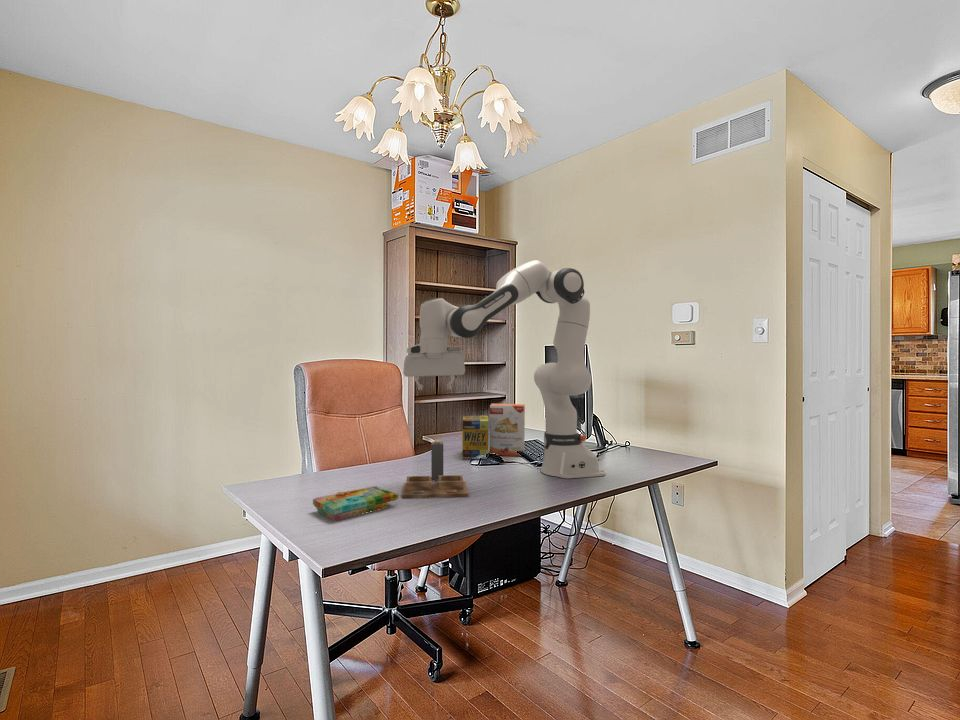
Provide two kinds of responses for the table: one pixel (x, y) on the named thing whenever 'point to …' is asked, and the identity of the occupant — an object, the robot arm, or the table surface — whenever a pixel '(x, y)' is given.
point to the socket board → (434, 487)
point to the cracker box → (507, 429)
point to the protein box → (474, 436)
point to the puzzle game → (354, 502)
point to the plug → (436, 459)
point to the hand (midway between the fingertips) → (434, 389)
